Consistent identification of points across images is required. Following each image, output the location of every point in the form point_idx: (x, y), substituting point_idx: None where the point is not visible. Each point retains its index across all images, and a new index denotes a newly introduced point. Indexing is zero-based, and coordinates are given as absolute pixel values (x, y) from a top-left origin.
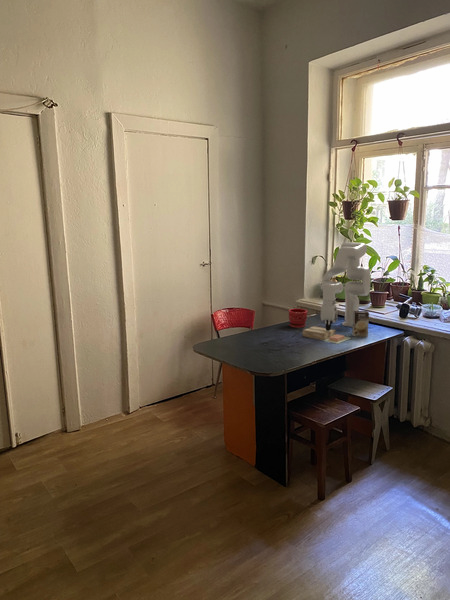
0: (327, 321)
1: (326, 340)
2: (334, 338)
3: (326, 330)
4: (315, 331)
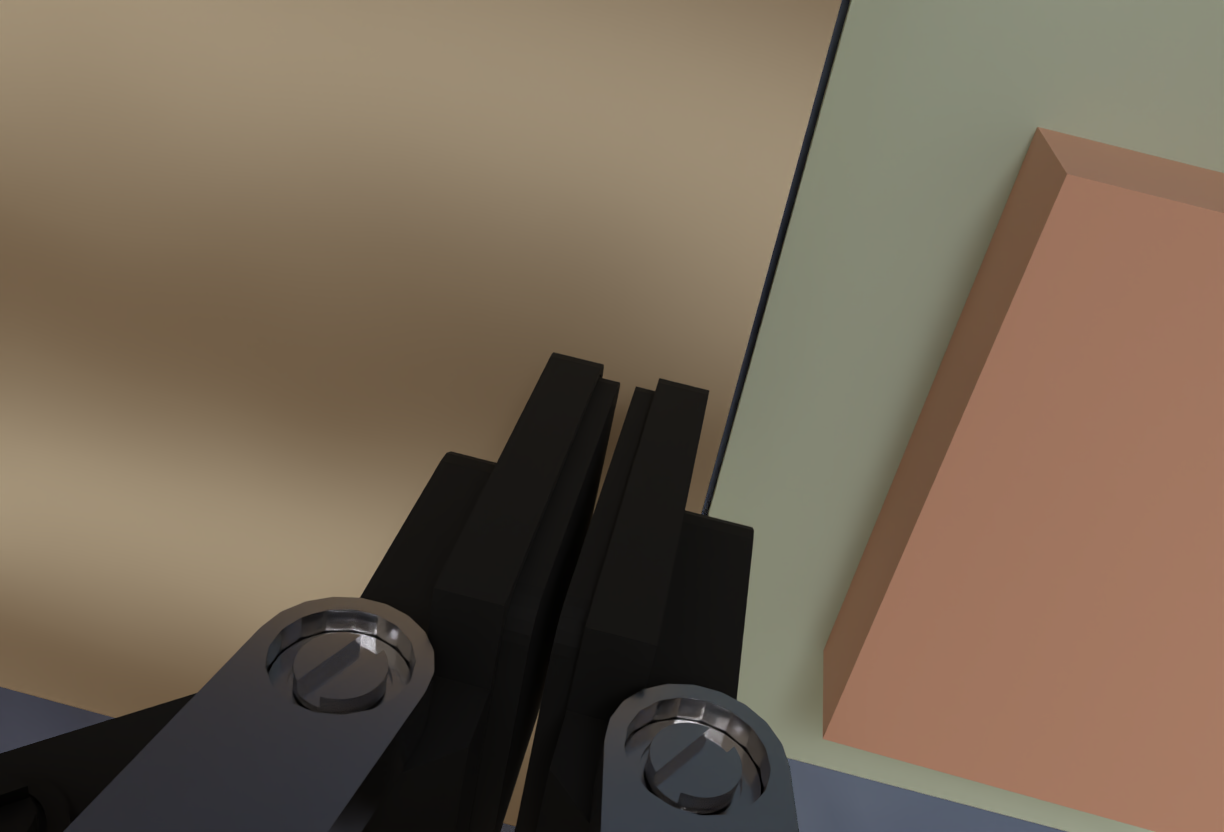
0: (278, 817)
1: (756, 706)
2: (1083, 806)
3: (425, 211)
4: (99, 593)
